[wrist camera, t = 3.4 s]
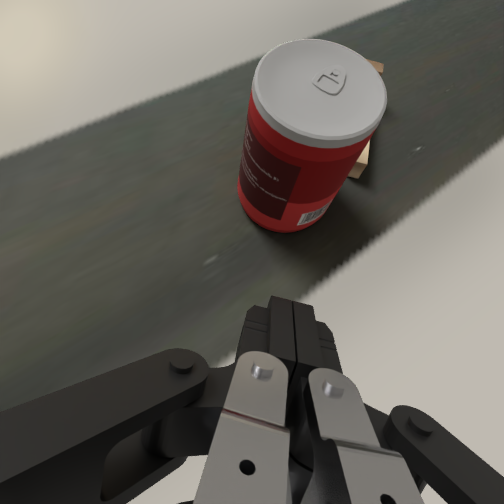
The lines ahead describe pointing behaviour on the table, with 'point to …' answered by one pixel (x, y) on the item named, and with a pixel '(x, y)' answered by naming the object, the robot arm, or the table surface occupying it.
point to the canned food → (305, 130)
